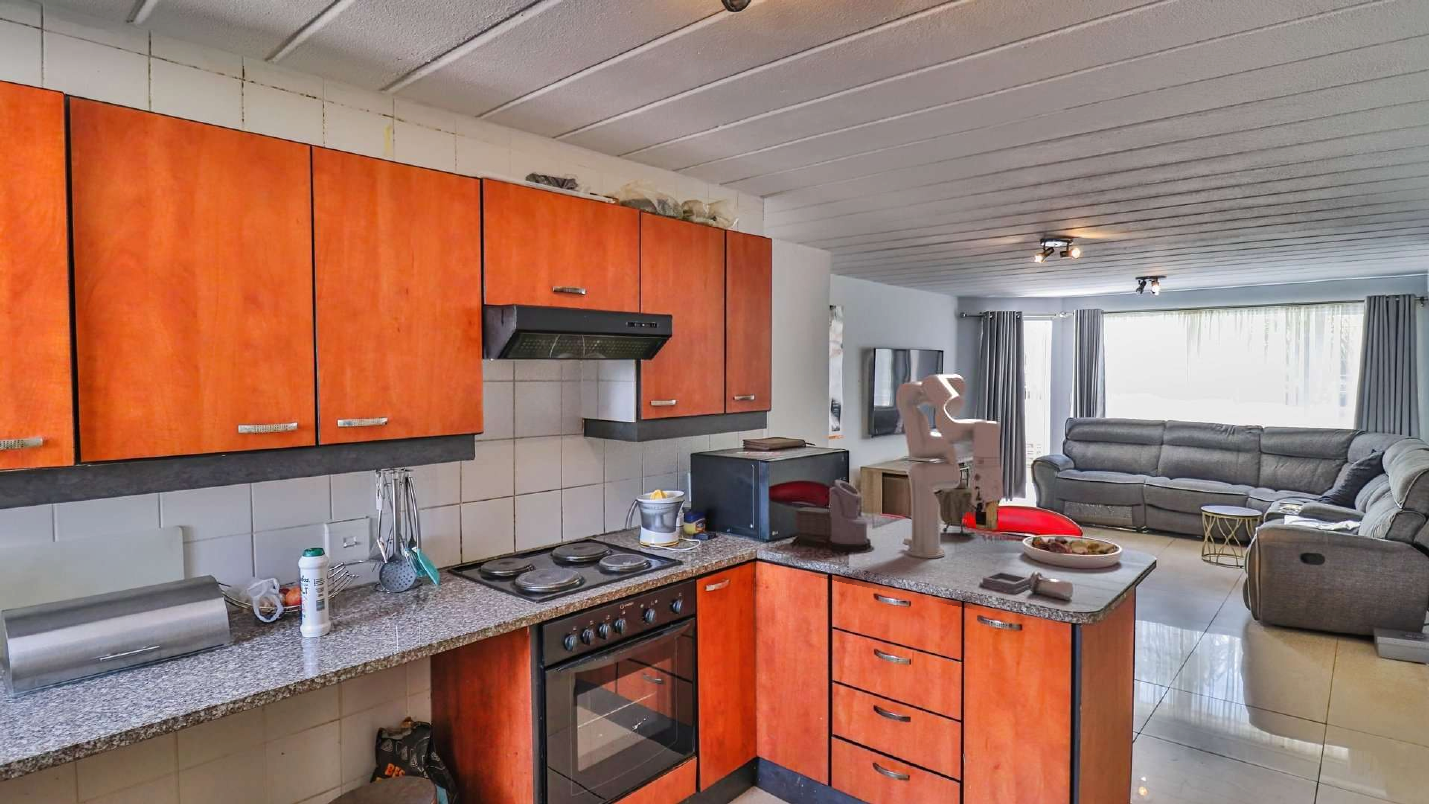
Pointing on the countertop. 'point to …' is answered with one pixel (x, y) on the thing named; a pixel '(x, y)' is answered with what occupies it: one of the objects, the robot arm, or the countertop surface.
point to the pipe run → (1050, 587)
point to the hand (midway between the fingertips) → (986, 522)
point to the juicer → (834, 523)
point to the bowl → (1072, 551)
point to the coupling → (990, 516)
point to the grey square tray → (1006, 582)
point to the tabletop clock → (956, 504)
